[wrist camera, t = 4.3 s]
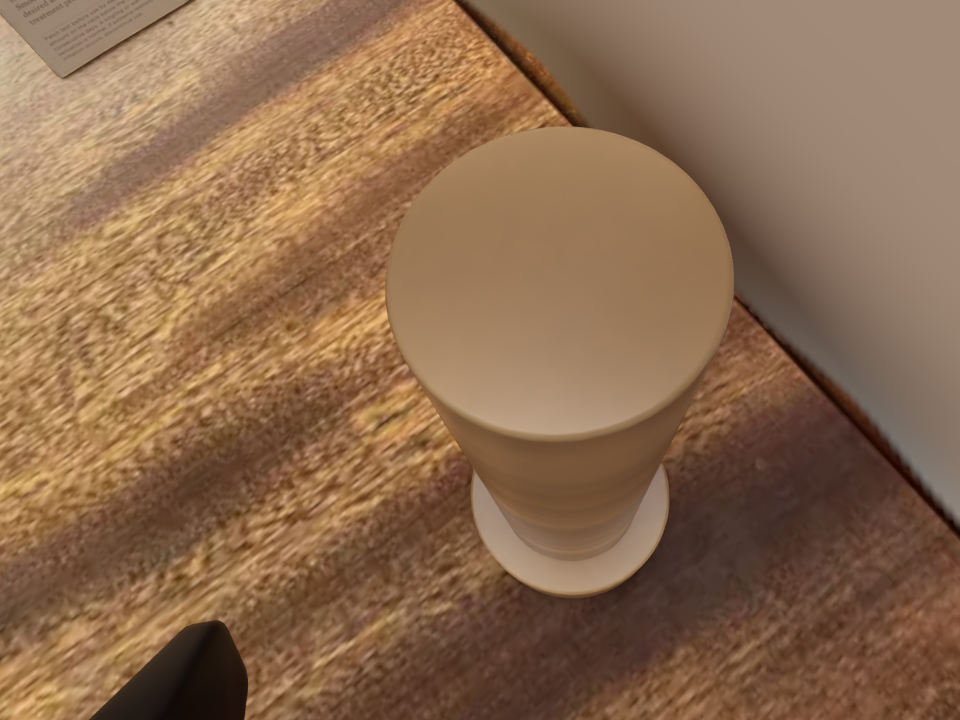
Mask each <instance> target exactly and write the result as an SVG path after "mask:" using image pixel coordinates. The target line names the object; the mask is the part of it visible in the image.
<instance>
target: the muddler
mask: <svg viewBox="0 0 960 720" xmlns="http://www.w3.org/2000/svg"><path fill="white" fill-rule="evenodd" d="M733 295H734V267H733V261H732V255H731V249H730V245H729V242H728V239H727V236H726V233H725V230H724V227H723V226H722V223H721V221H720V219H719V217H718V216H717V213H716V211H715V209H714V207H713V206H712V205H711V203H710V202H709V200H708V199H707V197H706V196H705V194H704V193H703V191H702V190H701V189H700V188H699V187H698V185H697V184H696V183H695V182H694V181H693V180H692V179H691V178H690V177H689V176H688V174H686V173H685V172H684V171H683V170H682V169H680V168H679V167H678V166H677V165H676V164H675V163H673V162H672V161H671V160H669V159H668V158H666V157H665V156H663V155H662V154H660V153H658V152H657V151H655V150H654V149H652V148H650V147H648V146H646V145H644V144H641V143H639V142H637V141H635V140H632V139H630V138H627V137H624V136H621V135H618V134H615V133H611V132H606V131H602V130H597V129H591V128H582V127H546V128H537V129H530V130H525V131H521V132H516V133H512V134H509V135H506V136H503V137H500V138H497V139H494V140H491V141H489V142H487V143H485V144H483V145H481V146H479V147H477V148H474V149H473V150H471V151H469V152H468V153H466V154H464V155H463V156H461V157H459V158H458V159H456V160H455V161H454V162H452V163H451V164H450V165H448V166H447V167H446V168H445V169H443V170H442V171H441V172H440V173H439V174H438V175H437V176H436V177H435V178H434V179H433V180H432V181H431V182H430V183H429V184H428V185H426V186H425V188H424V189H423V190H422V192H421V193H420V194H419V195H418V197H417V198H416V199H415V200H414V202H413V203H412V205H411V206H410V208H409V210H408V211H407V213H406V215H405V216H404V218H403V220H402V222H401V224H400V227H399V229H398V231H397V234H396V236H395V238H394V241H393V245H392V248H391V252H390V255H389V259H388V265H387V272H386V279H385V299H386V307H387V314H388V320H389V323H390V327H391V330H392V334H393V337H394V340H395V342H396V344H397V346H398V349H399V351H400V353H401V355H402V357H403V359H404V361H405V362H406V364H407V365H408V367H409V368H410V370H411V372H412V373H413V375H414V376H415V378H416V379H417V381H418V383H419V384H420V386H421V387H422V389H423V390H424V392H425V393H426V395H427V397H428V398H429V400H430V401H431V403H432V404H433V406H434V408H435V409H436V411H437V412H438V414H439V415H440V417H441V419H442V420H443V422H444V423H445V425H446V426H447V428H448V429H449V431H450V433H451V434H452V436H453V437H454V439H455V440H456V442H457V444H458V445H459V447H460V448H461V450H462V451H463V453H464V455H465V456H466V458H467V459H468V461H469V462H470V464H471V465H472V467H473V469H474V471H473V476H472V482H471V507H472V513H473V518H474V521H475V525H476V528H477V531H478V533H479V535H480V537H481V539H482V542H483V543H484V545H485V546H486V548H487V550H488V551H489V553H490V554H491V555H492V557H493V558H494V559H495V560H496V561H497V563H498V564H499V565H500V566H502V567H503V568H504V569H505V570H506V571H507V572H508V573H509V574H510V575H512V576H513V577H514V578H515V579H517V580H518V581H519V582H521V583H522V584H524V585H525V586H527V587H529V588H531V589H533V590H535V591H537V592H540V593H543V594H545V595H549V596H553V597H558V598H568V599H576V598H587V597H592V596H596V595H599V594H602V593H605V592H608V591H610V590H612V589H614V588H616V587H618V586H619V585H621V584H622V583H624V582H625V581H627V580H628V579H629V578H630V577H631V576H632V575H633V574H634V573H636V572H637V571H638V570H639V569H640V568H641V567H642V566H643V565H644V563H645V562H646V561H647V560H648V559H649V557H650V556H651V555H652V553H653V552H654V550H655V548H656V547H657V545H658V544H659V541H660V539H661V537H662V535H663V532H664V529H665V526H666V522H667V519H668V512H669V501H670V492H669V484H668V478H667V474H666V470H665V466H664V464H663V462H662V460H663V458H664V456H665V454H666V452H667V450H668V448H669V446H670V444H671V442H672V440H673V438H674V436H675V434H676V432H677V430H678V428H679V426H680V424H681V422H682V420H683V418H684V416H685V414H686V412H687V410H688V408H689V406H690V404H691V402H692V400H693V398H694V396H695V394H696V392H697V390H698V388H699V386H700V384H701V382H702V380H703V378H704V376H705V374H706V372H707V370H708V368H709V366H710V364H711V362H712V360H713V358H714V356H715V354H716V352H717V349H718V347H719V345H720V343H721V340H722V338H723V336H724V334H725V332H726V328H727V325H728V321H729V317H730V314H731V310H732V303H733Z"/></svg>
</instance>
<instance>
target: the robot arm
mask: <svg viewBox="0 0 960 720" xmlns="http://www.w3.org/2000/svg"><path fill="white" fill-rule="evenodd" d="M247 693H248V677H247V672H246V668H245V666H244V663H243V661H242V659H241V657H240V655H239V652H238V650H237V648H236V646H235V644H234V641H233V639H232V637H231V635H230V633H229V630H228V629H227V627H226V625H225V624H224V623H223V622H221V621H217V620H214V621H208V622H203V623H197V624H192V625H189V626H187V627H185V628H184V629H182V630H181V631H180V632H179V633H178V634H177V635H176V636H175V637H174V638H173V639H172V640H171V641H170V642H169V643H168V644H167V645H166V646H165V647H164V648H163V649H162V650H161V651H159V652H158V653H157V654H156V655H155V656H154V657H153V658H152V659H151V660H150V661H149V662H148V663H147V664H146V665H145V666H144V667H143V668H142V669H141V670H140V671H139V672H138V673H137V674H136V675H135V676H134V677H133V678H132V679H131V680H130V681H128V682H127V683H126V684H125V685H124V686H123V687H122V688H121V689H120V690H119V691H118V692H117V693H116V694H115V695H114V696H113V697H112V698H111V699H110V700H109V701H108V702H107V703H106V704H105V705H104V706H103V707H102V708H101V709H100V710H99V711H98V712H96V713H95V714H94V715H93V716H92V717H91V718H90V719H89V720H244V717H245V709H246V701H247Z"/></svg>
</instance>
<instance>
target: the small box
mask: <svg viewBox="0 0 960 720" xmlns="http://www.w3.org/2000/svg"><path fill="white" fill-rule="evenodd" d="M187 1H189V0H0V15H1V16H2V17H3V18H4V19H5V20H6V21H7V22H8V23H9V24H10V25H11V26H12V27H13V28H14V29H15V30H16V31H17V32H18V34H19V35H20V36H21V37H22V38H23V39H24V40H25V41H26V42H27V43H28V44H29V45H30V46H31V48H32V49H33V50H34V51H35V52H36V53H37V54H38V55H39V56H40V57H41V58H42V60H43V61H44V62H45V63H46V64H47V65H48V66H49V67H50V68H51V70H52V71H53V72H54V73H55V74H56V75H57V76H58V77H61V78H62V77H65V76H67V75H68V74H70V73H71V72H73V71H75V70H76V69H78V68H79V67H81V66H83V65H84V64H86V63H87V62H89V61H91V60H92V59H94V58H95V57H97V56H98V55H100V54H102V53H103V52H105V51H107V50H108V49H110V48H111V47H113V46H115V45H116V44H118V43H120V42H121V41H123V40H125V39H126V38H128V37H130V36H131V35H133V34H135V33H136V32H138V31H140V30H141V29H143V28H145V27H146V26H148V25H150V24H151V23H153V22H155V21H156V20H158V19H160V18H161V17H163V16H165V15H166V14H168V13H169V12H171V11H173V10H174V9H176V8H178V7H179V6H181V5H183V4H184V3H186V2H187Z"/></svg>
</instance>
